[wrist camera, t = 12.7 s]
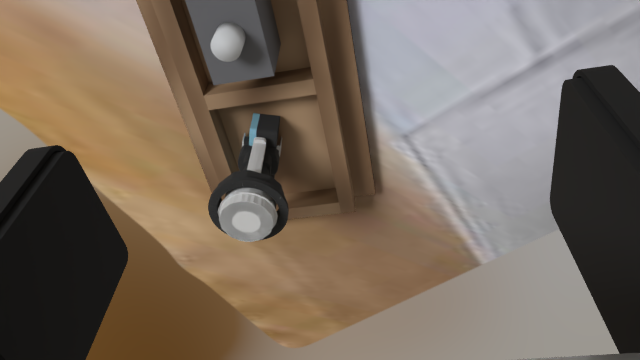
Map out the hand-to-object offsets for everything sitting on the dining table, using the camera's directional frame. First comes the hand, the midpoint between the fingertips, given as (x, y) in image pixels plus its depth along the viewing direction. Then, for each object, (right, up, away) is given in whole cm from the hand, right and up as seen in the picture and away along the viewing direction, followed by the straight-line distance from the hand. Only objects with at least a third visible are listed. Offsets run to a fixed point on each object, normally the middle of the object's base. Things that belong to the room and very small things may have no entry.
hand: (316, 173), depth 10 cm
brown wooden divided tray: (-4, +8, +30) cm, 31 cm away
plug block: (-5, +12, +25) cm, 28 cm away
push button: (-5, +3, +33) cm, 33 cm away
